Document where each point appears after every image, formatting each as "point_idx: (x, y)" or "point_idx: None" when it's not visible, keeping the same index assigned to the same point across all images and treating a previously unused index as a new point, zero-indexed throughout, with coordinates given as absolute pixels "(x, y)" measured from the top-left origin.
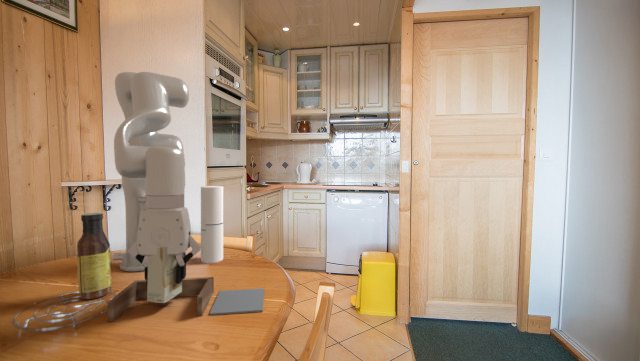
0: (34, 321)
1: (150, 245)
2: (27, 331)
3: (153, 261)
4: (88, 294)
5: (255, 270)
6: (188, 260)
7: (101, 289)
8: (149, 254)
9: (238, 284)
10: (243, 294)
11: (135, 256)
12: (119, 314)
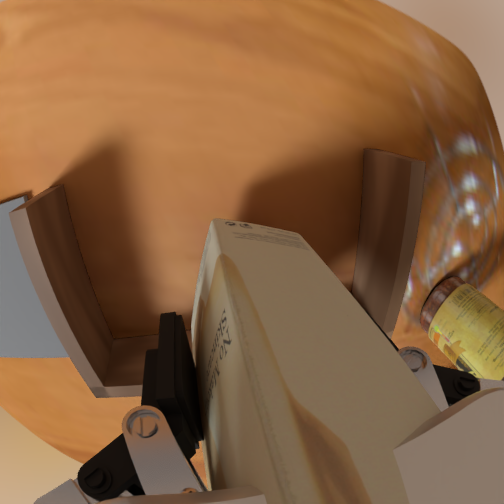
0: (491, 184)
1: (483, 495)
2: (487, 143)
3: (378, 386)
4: (457, 283)
5: (86, 443)
6: (106, 448)
7: (443, 302)
8: (446, 421)
9: (70, 391)
10: (5, 328)
11: (475, 383)
12: (364, 188)
